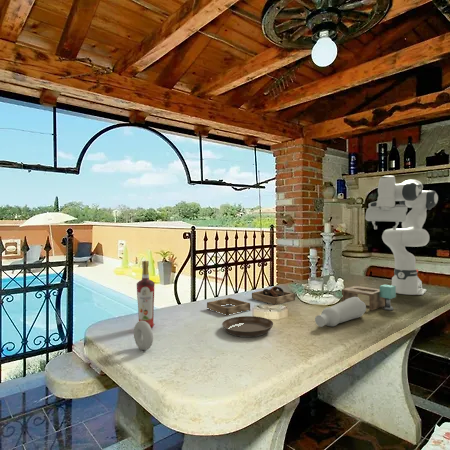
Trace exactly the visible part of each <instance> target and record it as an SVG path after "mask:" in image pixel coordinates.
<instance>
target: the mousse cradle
mask: <svg viewBox="0 0 450 450" xmlns="http://www.w3.org/2000/svg"><path fill="white" fill-rule="evenodd" d="M226 304H232V305H235V306H228V307H227V306H221V305H226ZM207 308H209V309H211V310H214V311H217V312H220V313H223V314H226V315H229V314H233V313H237V312H241V311H245V312H247V311H246V310H249V311H251V302H247V301H243V300H239V299H236V298H231V297H227V298H222V299H217V300H212V301H207V302H206V309H207ZM211 310H210V311H211ZM214 311H213V312H214ZM217 312H216V313H217ZM220 313H219V314H220ZM241 313H242V312H241ZM223 314H222V315H223ZM237 314H238V313H237ZM226 315H225V316H226ZM233 315H234V314H233ZM229 316H230V315H229Z"/></svg>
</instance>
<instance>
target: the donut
mask: <svg viewBox="0 0 450 450" xmlns="http://www.w3.org/2000/svg"><path fill="white" fill-rule="evenodd" d="M133 328H134V329H133V338H134V342H135V344H136V347H138V348H139V350H141V349H142V351H147V350H149V349H150V348H151V347H152V345H153V342H154V332H153V330H152V328H151V327H150V325H149V324H148V323H147V322H146V321H139V320H138V321H137V322H136V323H135V326H134V327H133Z"/></svg>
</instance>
